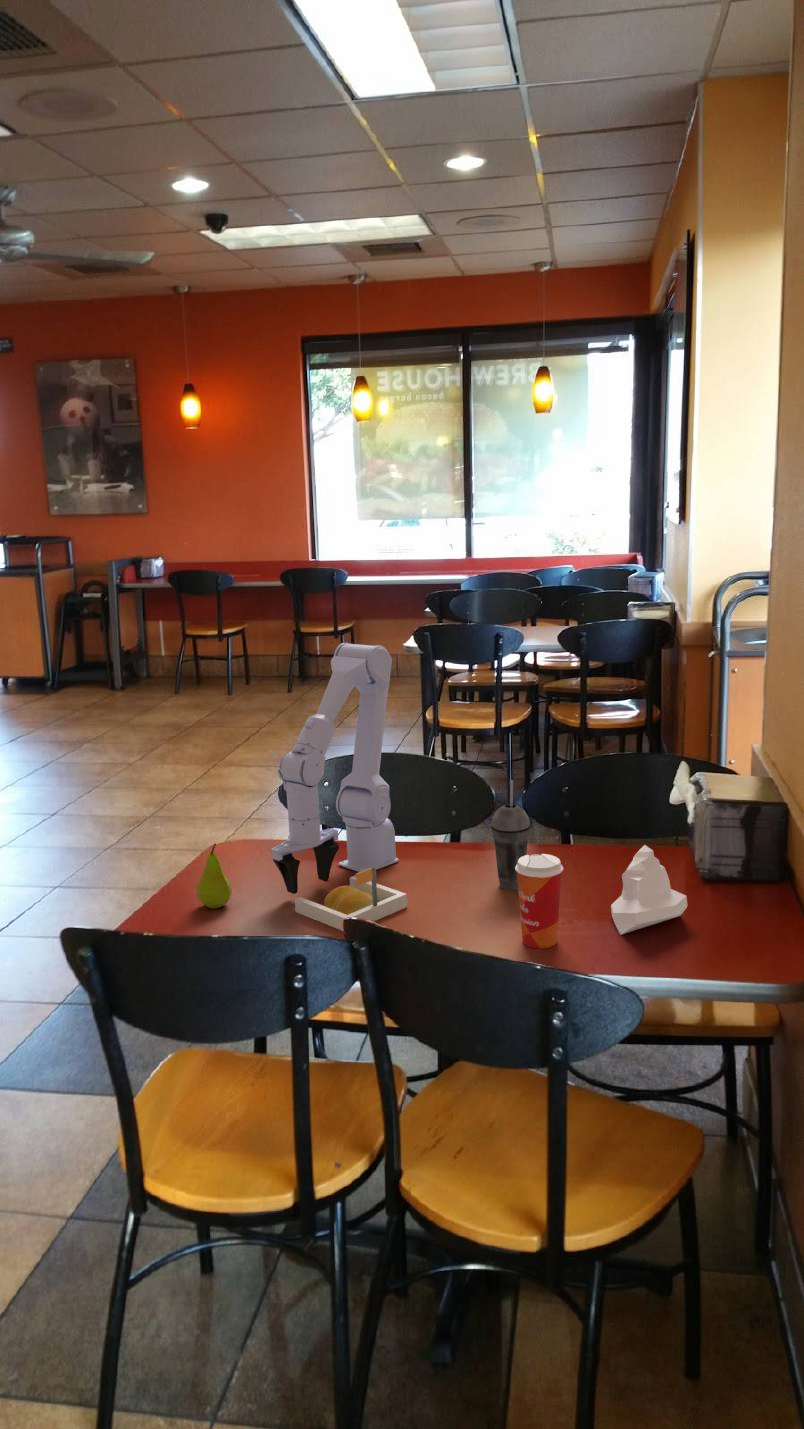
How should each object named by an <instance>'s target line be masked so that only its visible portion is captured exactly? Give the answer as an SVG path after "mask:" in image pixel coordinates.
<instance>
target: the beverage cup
mask: <svg viewBox="0 0 804 1429" xmlns="http://www.w3.org/2000/svg"><path fill="white" fill-rule="evenodd" d="M509 781H510V782H509V783H510V788H509V795H510V796H509V804H505V805H502V806H501V807H499V808H498V809H497V810H496V811H495V812H494V815H493V817H492V819H491V826H490V828H491V832H492V837H493V840H494V849H495V858H496V868H497V869H496V870H497V877H498V881H499V887H500V888H501V889H503V890H507V891H514V890H515V891H516V890H519V888H518V875H517V871H516V870H515V867H516V865H517V863H518V860H519V858H521V857H522V856H525V855H528V853H527V852H528V843H529V842H528V840H529V836H530V829H531V824H530V818H529V816H528V814H527V812H526V811H525V810H524V808H522V807H520V806H519V805H516V804H514V780H513V779H511V780H509Z"/></svg>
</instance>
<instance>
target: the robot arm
mask: <svg viewBox="0 0 804 1429" xmlns="http://www.w3.org/2000/svg"><path fill="white" fill-rule="evenodd" d="M392 663H393V658H392V656H391V654H390V653H389V651H388V650H387V649H386V647H385V646H383V645H370V644H369V645H367V644H357V643H356V644H355V643H350V642H341V643H340V644H339V645H337V646H336V649H335V650H334V654H333V657H332V658H331V660H330V668H331V671H332V673H331V676H330V679H329V681H328V684H327V687H326V688H325V689H326V690H325V691H324V694H323V697H322V700H321V701H320V703H319V704H320V705H319V707H318V709H317V712H316V713H315V714H312V715H311V716H308V717H307V719H306V721H305V723H304V724H303V727H302V729H301V731H300V734H299V736H298V738H297V740H296V742H295V744H294V746H293V748H292V750H291V751H290V752H288V753H286V754H285V755H283V757H282V758H281V759H280V762H279V768H278V769H277V773H278V777H279V779H280V781H282V783H283V790H284V791H285V792H286V804H287V818H288V819H287V820H288V834H289V835H288V836H287V837H288V838H287V840H285V841H283V842H282V843H280V844H278V845H277V846H274V847H271V850H270V851H271V859H272V862H273V863H274V864H275V866H276V867H277V869H278V870H279V872H280V874H281V876H282V879H283V881H284V885H285V887H286V891H287V893H289V894H293V895H296V894H298V888H299V886H298V882H299V881H298V877H299V876H298V874H299V868H300V867H299V866H300V863H301V860H299V859H296V858H295V856H293V855H294V854H297V853H301V852H303V851H306V850H308V849H309V850H310V849H312V848H313V852H314V856H315V861H316V871H317V872H316V873H317V878H318V880H320V881H322V882H325V883H326V882H327V883H328V882H329V879H330V873H331V869H332V864H333V862H334V859H335V856H336V855H337V852H338V851H339V849H340V848H339V847H340V846H339V843H337V842H335V841H338V840H339V830H338V829H337V828H336V829H335V828H331V827H330V828H326V829H321V821H320V818H321V817H320V803H319V800H320V799H319V786H318V785H319V782H321V779H322V778H323V776H324V774H325V762H326V752H327V751H328V749H329V746H330V744H331V742H332V741H333V738H334V736H335V734H336V731H337V729H336V728H337V727H336V726H335V723H334V721H335V720H336V718H337V716H338V714H339V713H340V711H341V710H342V708H343V706H344V704H345V703H346V700H347V699H348V697H349V695H350V693H351V692H352V691H353V689H354V688H356V690H358V692H359V701H358V711H357V721H356V728H355V729H356V730H355V739H354V748H353V749H354V751H353V758H352V769H351V772H350V773H349V774H348V775H347V776H345V777H344V778H343V779H341V781H340V788H339V792H338V793H337V795H336V800H335V808H336V811H337V814H338V815H339V816H340V817H342V823H345V833H346V836H345V837H346V852H347V859H346V860H345V859H344V860H343V861H340V862H338V866H340V867H343V868H346V869H348V870H352V871H355V872H357V873H359V872H361V871H364V870H367V869H369V868H371V867H373V866H374V867H376V870H379V869H383V868H385V867H387V866H390V865H392V864H395V863H398V862H399V861H400V860H399V858H398V857H397V856H396V855H397V853H396V831H395V828H394V827H395V826H394V824H393V823H392V820H390V819H389V818H388V817H389V815H390V814H391V807H392V806H391V798H390V785H389V784H388V783H387V782H386V781H385V780H384V779H383V777H382V776H381V775H380V770H381V769H380V768H381V760H382V750H383V742H384V733H385V732H384V731H385V723H386V712H387V704H388V703H387V702H388V694H389V693H388V692H389V688H390V680H391V673H392V672H391V671H392Z"/></svg>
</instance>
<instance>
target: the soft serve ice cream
mask: <svg viewBox="0 0 804 1429" xmlns="http://www.w3.org/2000/svg"><path fill="white" fill-rule="evenodd" d="M621 879H622V886H623V887H622V891H621V895H619V897H618V898H617V899H616V900H614V902H613V903H611V905H610V906H611V907H610V909H611V910H610V911H611V917H612V920H613V923H614V925H615V928H616V929H617V932H618V933H619V934H620V936H621V935H625V934H628V933H630V932H631V933H632V932H634V931H636V930H637V931H638V930H641V929H643V928H648V927H650V926H653V925H656V924H659V923H662V922H665V921H668V920H669V921H670V920H672V919H675V918H678V917H681V916H682V914H683V913H684V912H685V910H686V909H687V907H688V897H687V895H686V894H684V893H681V892H679V891H677V890H674V889H672V887H671V883H670V878H669V875H668V873H667V870H666V867H665V866H664V865H662V864H661V863H660V860H659V859H658V858H657V857H655V853H654V850H653V849H652V848H650V847H649V846H647V845H646V844H644V845H643V846H642V847H641V848H640V849H639V850H638V851H637V852H636V853H635V855H634V856H633V857H632V861H631V862H630V863H629V865H628V867H627V868H626V870H625V871H624V872H623V873H622V874H621Z"/></svg>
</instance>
